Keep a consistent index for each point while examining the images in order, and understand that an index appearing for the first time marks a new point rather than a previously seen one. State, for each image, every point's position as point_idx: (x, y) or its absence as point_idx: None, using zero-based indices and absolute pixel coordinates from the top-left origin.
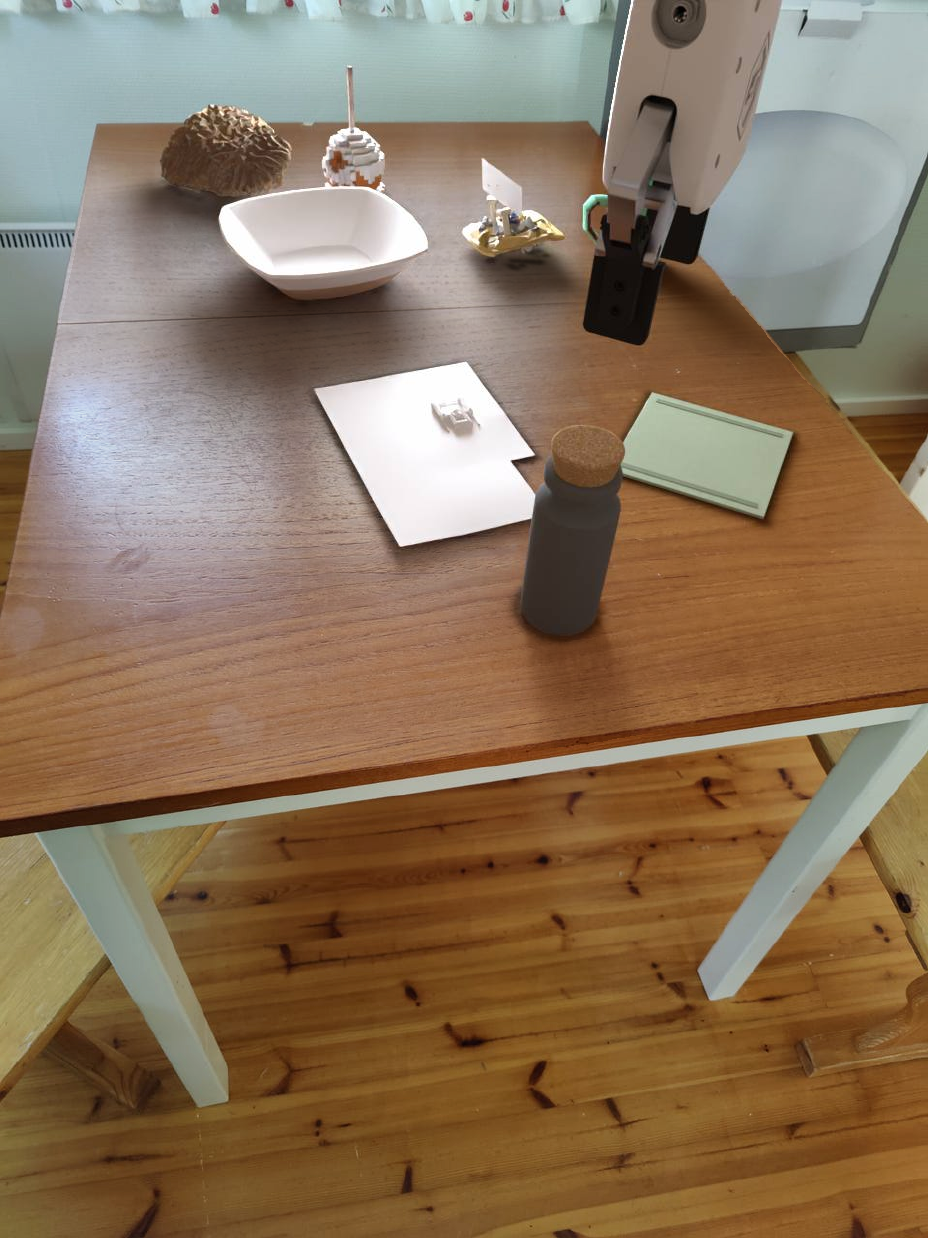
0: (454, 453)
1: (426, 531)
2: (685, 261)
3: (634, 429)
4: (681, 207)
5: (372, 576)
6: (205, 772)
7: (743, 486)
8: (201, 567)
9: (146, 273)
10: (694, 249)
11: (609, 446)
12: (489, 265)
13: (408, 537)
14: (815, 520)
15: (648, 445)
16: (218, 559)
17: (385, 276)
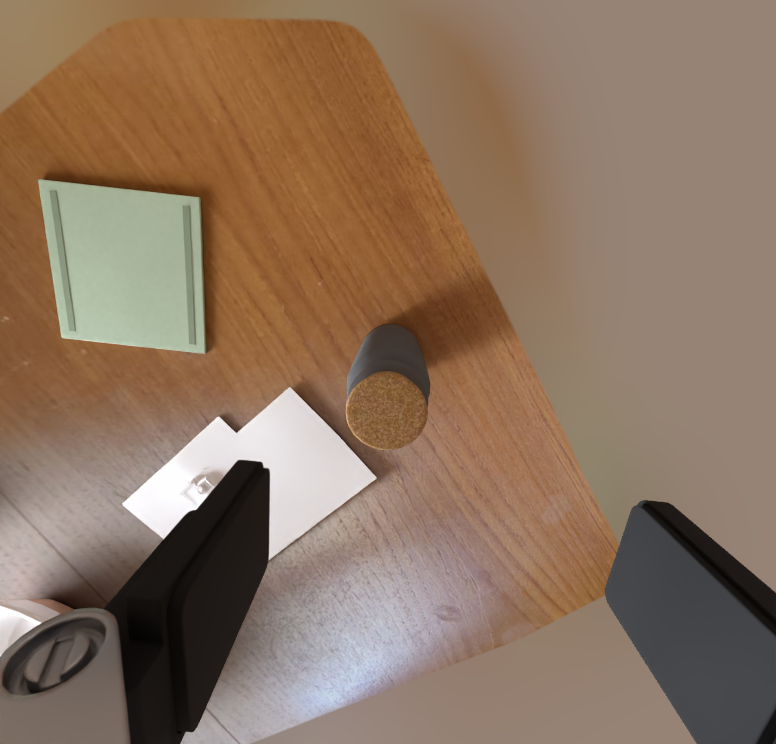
0: None
1: (352, 466)
2: (269, 478)
3: (133, 342)
4: (217, 608)
5: (407, 483)
6: (591, 509)
7: (163, 223)
8: (438, 577)
9: None
10: (257, 484)
11: (379, 392)
12: None
13: (364, 475)
14: (174, 141)
15: (150, 325)
16: (428, 571)
17: (50, 608)
